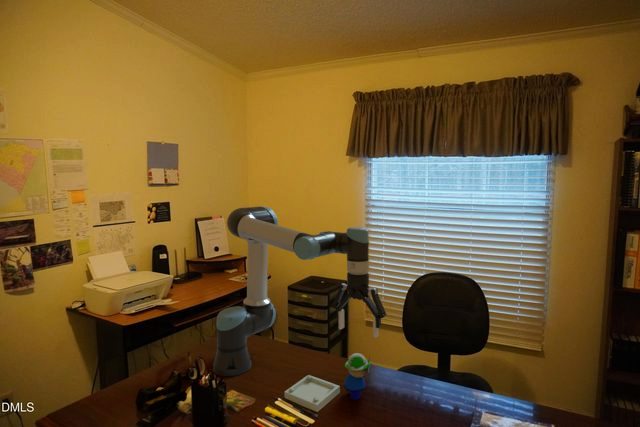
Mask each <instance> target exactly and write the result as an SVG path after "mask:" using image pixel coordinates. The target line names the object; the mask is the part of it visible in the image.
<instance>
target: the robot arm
mask: <svg viewBox="0 0 640 427" xmlns="http://www.w3.org/2000/svg"><path fill="white" fill-rule="evenodd" d="M226 220H227V221H226V227H227V229H228V231H229V232H230V234H232V236H234V237H237V238H240V239H242V240H245V241H246V242H247V266H246V268H247V269H246V270H247V273H246V274H247V276H246V278H247V279H246V280H247V281H246V284H247V285H246V297H245V298H244V299H243V304H242V306H238V305H237V306H230V307H227V308H224V309H222V310H221V311H219V313H218V314H217V316H216V324H215V326H216V353H215V358H214V360H213V362H212V370H213V372H214V374H216V375H218V376H221V377H234V376H235V377H236V376H239V375H242V374H244V373H247V372H248V371H249V370H250V369H252V368H251V367H252V357H251V356H250V352H249V350H248V347H247V346H248V345H247V343H248V342H247V339H248V338H249V337H251V336H253V335H255V334H257V333H260V332H263V331H266V330H267V329H269V328H271V326H273V324H274V323H275V320H276V316H277V314H276V308H274V307H275V306H274V304H273V303H272V302H271V299H270V298H269V297H268V266H269V262H268V261H269V246H273V247H275V248H278V249H282V250H284V251H287V252H288V251H289V252H291V253H294V254H295V256H296V257H297V258H298V259H299V260H303V261H306V260H310V261H311V260H313V259H315V258H320V257H323V256H327V255H331V254H339V255H340V254H341V255H346V271H347V273H346V283H347V284H346V283H345V282H343V283H340V284H339V286H338V291H337V293H336V295H335V298H334V301H333V302H332V305H331V308H332V309H335V310H336V319H337V320H338V330H340V331H341V330H342V329H344V328H345V309H344V307H345V306H346V304H347V303H348V302H349V301H350V300H351V299H353V300H359V301H363V303H365V305H366V306H367V308H368V310H370V312H371V314H372V315H373V317H374V318H372V338H373V339H376V338H377V337H378V336H379V335H380V334H379V333H380V332H379V329H380V328H381V326H382V319H383V318H385V317H387V313H386V309H385V308H384V305H383V303H382V300H381V297H380V296H379V290H378V288H377V287H374V288H370V286H369V283H370V274H369V271H370V264H369V263H370V262H369V259H370V258H369V250H370V249H369V248H370V247H369V245H370V238H369V230H368V228H367V227H363V226H362V227H361V226H359V227H358V226H352V227H348V228H347V229H346V232H338V231H331V230H330V231H329V230H325V231H321V232H319V234H318V233H317V234H309V233H307V232H306V233H305V232H302V231H299V230H296V229H293V228H290V227H285V226H282V225H278V224H279V221H278V217H277V214H276V212H274V210H273V209H272V208H270V207H268V206H251V207H249V206H248V207H239V208H236V209H234V210H232V211H231V212H230V213H229V215H228V216H227V219H226ZM346 290H347V292H348V293H347V294H346V295H345V297H344V298H343V296H344V293H345V291H346ZM369 294H370V295H369ZM342 298H343V299H342Z"/></svg>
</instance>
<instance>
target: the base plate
mask: <svg viewBox="0 0 640 427" xmlns="http://www.w3.org/2000/svg"><path fill="white" fill-rule="evenodd" d="M340 393H341V386H340V385H338V384H335V383H333V382H329V381H327V380H324V379H321V378H319V377H316V376H312V375H311V374H308V375H306V376H304V377H303V378H302V379H300V380H299V381H297V382H296V383H295V384H293V385H292V386H291V387H289V388H288V389H286V390H285V391H284V399H286V400H288V401H290V402H293V403H296V404H297V405H299V406H301V407H304V408H306V409H309V410H312V411H314V412H317V413H318V412H319V411H321V410H322V409H323V408H324V407H325V406H326V405H327V404H329V403H330V402H331V401H332V400H333V399H334V398H336V396H338V395H339V394H340Z"/></svg>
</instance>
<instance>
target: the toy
mask: <svg viewBox="0 0 640 427" xmlns="http://www.w3.org/2000/svg"><path fill="white" fill-rule="evenodd" d="M370 357H371V356H370V355H369V358H368V359H367V358H366V357H365V356H364V355H363V354H361V353H358V352H355V353H352V354H351V355H350V356H349V357H348V360H347V361H345V363H344V368H346V369H347V371H348V374H347V376H346V378H345V380H344V386H343V388H344V389H345V390H346V391H348V392H349V395H350V399H352V400H354V401H355V400H359V399H361V394H362V392H363V391H365V390H366V388H367V384H366V380H365V379H364V376H366V374H367V381H369V378H370V368H371V367H370V366H371V365H372V363H371V361H370Z"/></svg>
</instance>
